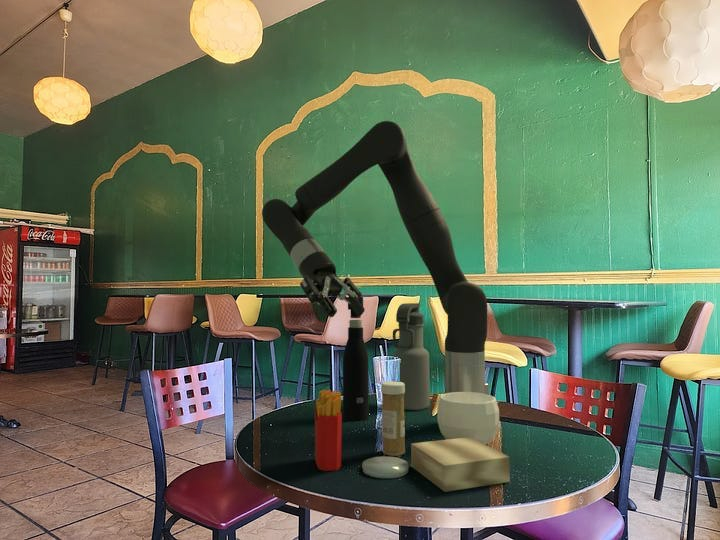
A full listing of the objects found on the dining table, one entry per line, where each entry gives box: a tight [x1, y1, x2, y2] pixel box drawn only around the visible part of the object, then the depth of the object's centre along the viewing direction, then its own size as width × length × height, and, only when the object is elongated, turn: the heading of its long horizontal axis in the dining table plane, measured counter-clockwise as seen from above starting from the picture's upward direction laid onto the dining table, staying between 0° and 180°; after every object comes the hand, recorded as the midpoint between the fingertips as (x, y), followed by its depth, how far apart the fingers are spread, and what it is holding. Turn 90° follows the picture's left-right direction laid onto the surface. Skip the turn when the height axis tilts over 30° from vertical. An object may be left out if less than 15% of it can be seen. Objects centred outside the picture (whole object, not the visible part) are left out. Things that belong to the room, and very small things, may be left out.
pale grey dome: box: [361, 456, 409, 479], centre depth 86 cm, size 8×8×1 cm
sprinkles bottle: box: [380, 380, 406, 457], centre depth 96 cm, size 5×5×13 cm
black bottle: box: [342, 296, 370, 422], centre depth 123 cm, size 6×6×30 cm
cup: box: [436, 392, 500, 445], centre depth 100 cm, size 12×12×10 cm
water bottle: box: [392, 302, 431, 411], centre depth 135 cm, size 10×10×28 cm
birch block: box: [410, 437, 511, 493], centre depth 84 cm, size 12×12×4 cm
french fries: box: [314, 389, 343, 472], centre depth 89 cm, size 9×4×13 cm, turn 13°
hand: (348, 313), depth 106 cm, fingers open, 8 cm apart
